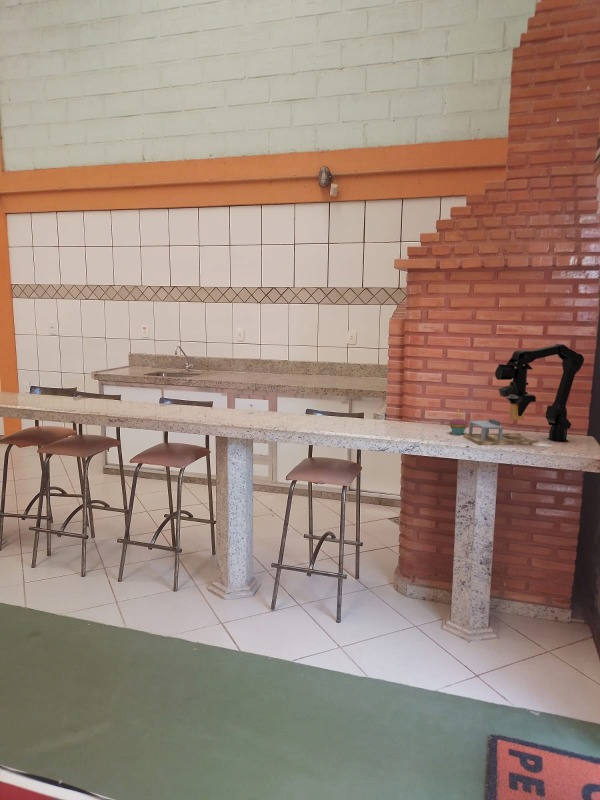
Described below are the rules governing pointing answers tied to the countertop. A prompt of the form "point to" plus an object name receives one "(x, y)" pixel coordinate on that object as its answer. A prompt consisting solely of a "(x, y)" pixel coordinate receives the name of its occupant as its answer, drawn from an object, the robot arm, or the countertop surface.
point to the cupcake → (458, 425)
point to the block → (515, 412)
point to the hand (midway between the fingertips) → (517, 415)
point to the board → (506, 440)
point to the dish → (543, 444)
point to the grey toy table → (486, 427)
